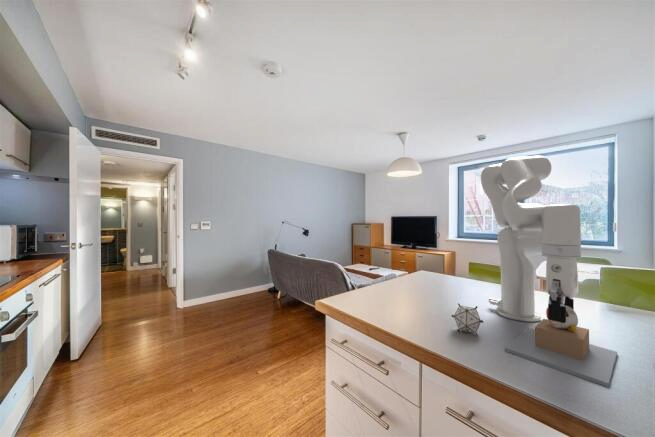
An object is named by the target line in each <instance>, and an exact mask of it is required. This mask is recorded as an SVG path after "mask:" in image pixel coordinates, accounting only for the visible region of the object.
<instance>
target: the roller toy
mask: <svg viewBox="0 0 655 437" xmlns="http://www.w3.org/2000/svg"><path fill="white" fill-rule="evenodd" d="M564 307H566V322H565V323H561V322H557V321H552V320H549V318H548V307H546V310H545V315H546V319H547V320H548V321H549V322H550V324H551V325H552V326H554V327H555V328H562V329H568V330H569V331H571V332H574V331H575V330H576V327H578V324H579V318H578V315H577V313H576V311H575V309H574V310H573V309H572V308H571V307H569V306H566V305H564Z"/></svg>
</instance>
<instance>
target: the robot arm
mask: <svg viewBox="0 0 655 437" xmlns="http://www.w3.org/2000/svg"><path fill="white" fill-rule="evenodd" d="M551 173H552V164H551V161H550V160H549V159H548V157H545V156H543V155H532V156H517V157H515V156H514V157H510V158H508V159H506V160H504V161H503V162H502V163H497V164H492V165H488V166H486V167H484V168H483V169H482V170H481V173H480V183H481V187H482V190H483V192H484V193H485V196H486V197H487V198H488V200H489V202H490V203H491V207H492V210H493V214H494V217H495V221H496V222H497V225H499V227H501V228H502V229H501V230H499V231H498V234H497V238H496V239H497V245H498V249H499V250H498V251H499V257H500V258H499V259H500V294H501V296H500V298H498V299H497V298H494V297H489V298H488V303H490V305H493V306H494V305H495V306H496V308H495V310H496V313H497V314H498V315H500V316H502V317H504V318H506V319H511V320H515V321H519V322H520V321H521V322H527V323H529V322H530V323H534V322H540V321H541V315H540V314H539V313H538V312H536V311H535V307H536V306H535V304H536V303H535V299H536V298H535V267H534V264H533V263H532V261H531V260H529V258H528V257H527V255H541V256H542V257H546V264H545V265H546V266H545V267H546V268H545V285H546V293H547V294H548V295H549V296H548V304H547V308H548V318H549V320H552V321H557V322H561V323H565V322H566V307H564V305H566V306H569V307H571V308H572V309H573V310H574V311H575V309H574V308H575V307H574V298H575V297H577V295H578V294H579V292H580V291H579V289H580V288H579V276H578V275H579V273H578V271H579V270H578V261H577V260H579V259H582V246H581V245H582V243H581V242H582V240H581V239H582V235H581V229H582V228H581V226H582V225H581V209H580V207H579V206H578V205H577V204H574V203H573V204H572V203H571V204H570V203H561V204H560V203H559V204H557V203H556V204H547V205H545V204H544V205H543V204H539V203H522V202H523V201H525V200H527V199H530V198H533V197H534V196H536V195H537V194H539V193H540V191H541V189H542V187H543V185H542V180H545V179H547V178H548V177H549V176H550V174H551ZM505 185H506V186H505Z"/></svg>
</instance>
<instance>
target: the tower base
mask: <svg viewBox="0 0 655 437" xmlns="http://www.w3.org/2000/svg"><path fill="white" fill-rule="evenodd" d="M504 351H505V352H507V353H509V354H513V355H516V356H518V357H521V358H525V359H527V360H530V361H532V360H533V361H532V362H535V363H538V364H541V365H544V366H547V367H549V368H552V369H555V370H558V371H561V372H565V373H567V374H570V375H573V376H575V377H579V378H581V379H584V380H586V379H587V381H589V380H590V382H592V381H593V383H595V382H596V383H595V384H599V385H601V384H602V385H601V386H604V387H606V386H607V388H609V387H610V384H611V381H612V376H613V373H614V368H615V365H616V361H617V356H618V351H617V350H613V349H608V348H604V347H601V346H597V345H593V344H590V329H588V328H585V327H581V326H577V327H576V330H575V331H574V332H571V331H569V330H568V329H562V328H555V327H554V326H552V325H551V324H550V322H549V321H548V319H547V318H542V320H540V321H539V322H538V323H537V324H536V325H535V326H534V328H531V327H527V328H526V329H525V330H523V331H522V332H521V333H520V334H519V335H518V336H516V338H514V339H513V340H512V341H511V342H510V343H508V344H507V345H506V346H505V347H504Z"/></svg>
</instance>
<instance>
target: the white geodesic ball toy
mask: <svg viewBox="0 0 655 437" xmlns="http://www.w3.org/2000/svg"><path fill="white" fill-rule="evenodd" d="M457 305H458V307H457V310H456V311H455V313H454V315H453V314H451V316H450V317H452V318H453V319H454V320H455V322H456V326H457V330H456V332H460V331H464V332H468V333H472V334H473V333H474V334H475V336H478V333H477V332H478V329H479V328H480V325H481V323H482V324H484V321H483V320H484V319H483V320H482V319H481V317H480V315H479V312H478V310H477V309H478V305H476V306H475V307H471V306H464V305H461V304H460V303H459V302H458V303H457Z"/></svg>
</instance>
